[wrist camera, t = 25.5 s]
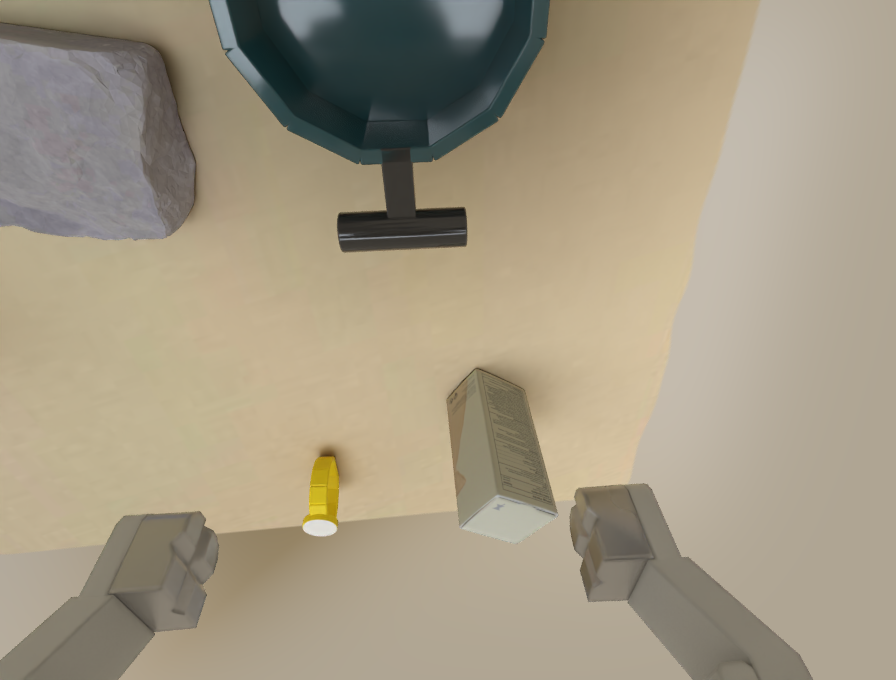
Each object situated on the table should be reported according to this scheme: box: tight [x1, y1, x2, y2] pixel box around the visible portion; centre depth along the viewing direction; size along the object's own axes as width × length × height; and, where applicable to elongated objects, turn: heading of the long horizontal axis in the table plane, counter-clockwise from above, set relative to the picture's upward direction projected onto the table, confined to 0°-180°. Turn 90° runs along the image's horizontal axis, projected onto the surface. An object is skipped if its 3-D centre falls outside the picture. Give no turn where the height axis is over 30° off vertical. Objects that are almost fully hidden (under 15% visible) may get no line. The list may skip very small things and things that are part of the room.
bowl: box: [209, 0, 550, 253], centre depth 18 cm, size 15×12×4 cm
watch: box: [302, 456, 339, 536], centre depth 41 cm, size 6×3×6 cm, turn 178°
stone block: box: [0, 23, 196, 240], centre depth 24 cm, size 12×5×10 cm
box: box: [447, 369, 558, 544], centre depth 35 cm, size 5×4×11 cm
